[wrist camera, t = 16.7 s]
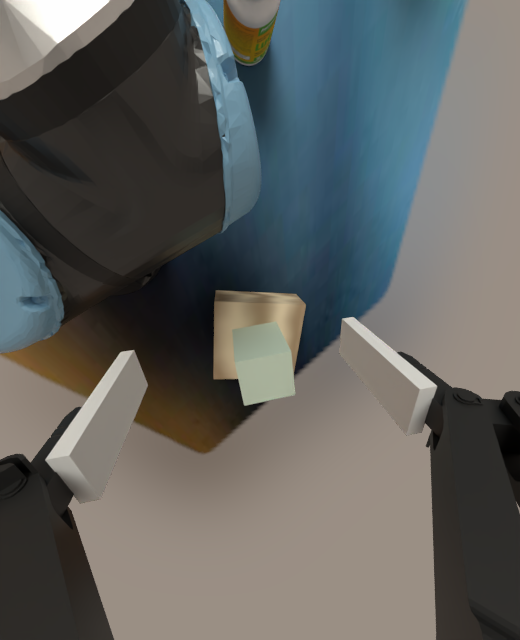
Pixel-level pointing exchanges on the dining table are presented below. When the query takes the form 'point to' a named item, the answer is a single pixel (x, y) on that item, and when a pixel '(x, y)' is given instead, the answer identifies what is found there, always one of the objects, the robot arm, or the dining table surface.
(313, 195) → the dining table surface
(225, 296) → the maple block
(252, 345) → the sage block
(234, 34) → the supplement bottle
